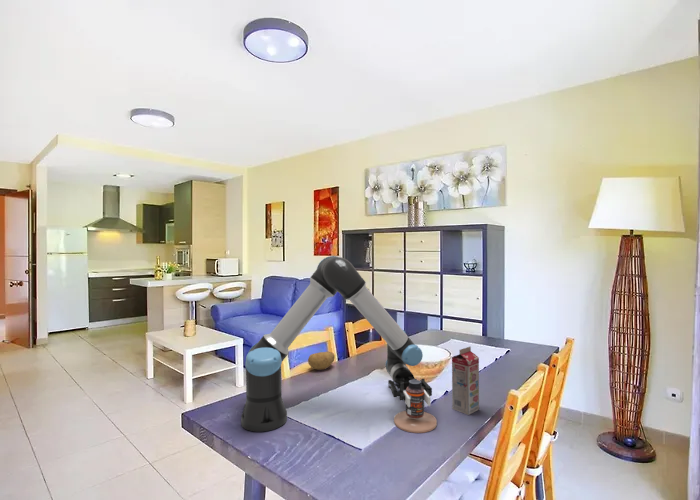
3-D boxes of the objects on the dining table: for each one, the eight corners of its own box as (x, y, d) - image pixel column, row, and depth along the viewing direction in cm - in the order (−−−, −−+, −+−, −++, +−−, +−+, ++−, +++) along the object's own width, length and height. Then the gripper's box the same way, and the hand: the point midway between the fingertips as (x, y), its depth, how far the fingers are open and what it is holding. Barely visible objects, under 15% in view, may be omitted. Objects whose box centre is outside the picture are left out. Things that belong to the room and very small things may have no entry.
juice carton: (452, 408, 136) (451, 347, 136) (462, 403, 140) (462, 344, 140) (468, 415, 131) (468, 351, 130) (479, 409, 135) (478, 348, 135)
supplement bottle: (410, 420, 122) (410, 385, 122) (403, 412, 128) (402, 379, 128) (427, 417, 124) (426, 383, 124) (419, 410, 129) (418, 377, 129)
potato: (339, 368, 182) (339, 351, 182) (314, 374, 173) (314, 357, 173) (328, 363, 189) (328, 347, 189) (304, 369, 181) (303, 352, 181)
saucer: (431, 436, 117) (431, 433, 117) (388, 427, 122) (388, 424, 122) (440, 417, 129) (440, 414, 129) (400, 410, 135) (400, 407, 135)
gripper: (426, 385, 145) (448, 412, 121) (377, 387, 143) (390, 415, 120) (426, 365, 144) (447, 389, 121) (377, 368, 143) (389, 391, 120)
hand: (419, 402), depth 121 cm, fingers closed on supplement bottle, 6 cm apart
